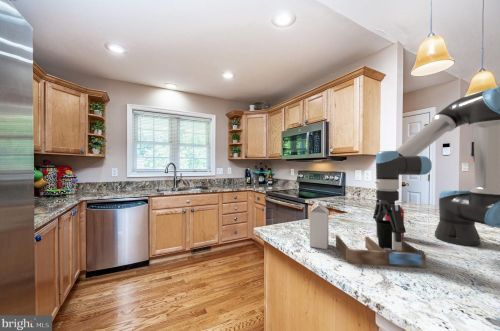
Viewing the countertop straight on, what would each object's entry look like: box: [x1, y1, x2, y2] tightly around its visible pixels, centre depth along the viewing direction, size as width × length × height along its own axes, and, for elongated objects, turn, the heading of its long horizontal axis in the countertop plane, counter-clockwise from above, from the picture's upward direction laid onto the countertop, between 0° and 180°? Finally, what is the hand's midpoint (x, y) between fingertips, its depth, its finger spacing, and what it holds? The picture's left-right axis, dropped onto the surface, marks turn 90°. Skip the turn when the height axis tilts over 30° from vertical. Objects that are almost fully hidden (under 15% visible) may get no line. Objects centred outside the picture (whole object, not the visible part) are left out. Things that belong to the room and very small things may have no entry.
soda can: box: [383, 205, 405, 239], centre depth 101 cm, size 8×8×15 cm
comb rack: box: [335, 234, 427, 269], centre depth 80 cm, size 25×17×6 cm
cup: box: [375, 219, 398, 252], centre depth 83 cm, size 8×8×12 cm
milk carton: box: [309, 200, 330, 250], centre depth 90 cm, size 7×7×19 cm
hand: (387, 243), depth 83 cm, fingers open, 13 cm apart
